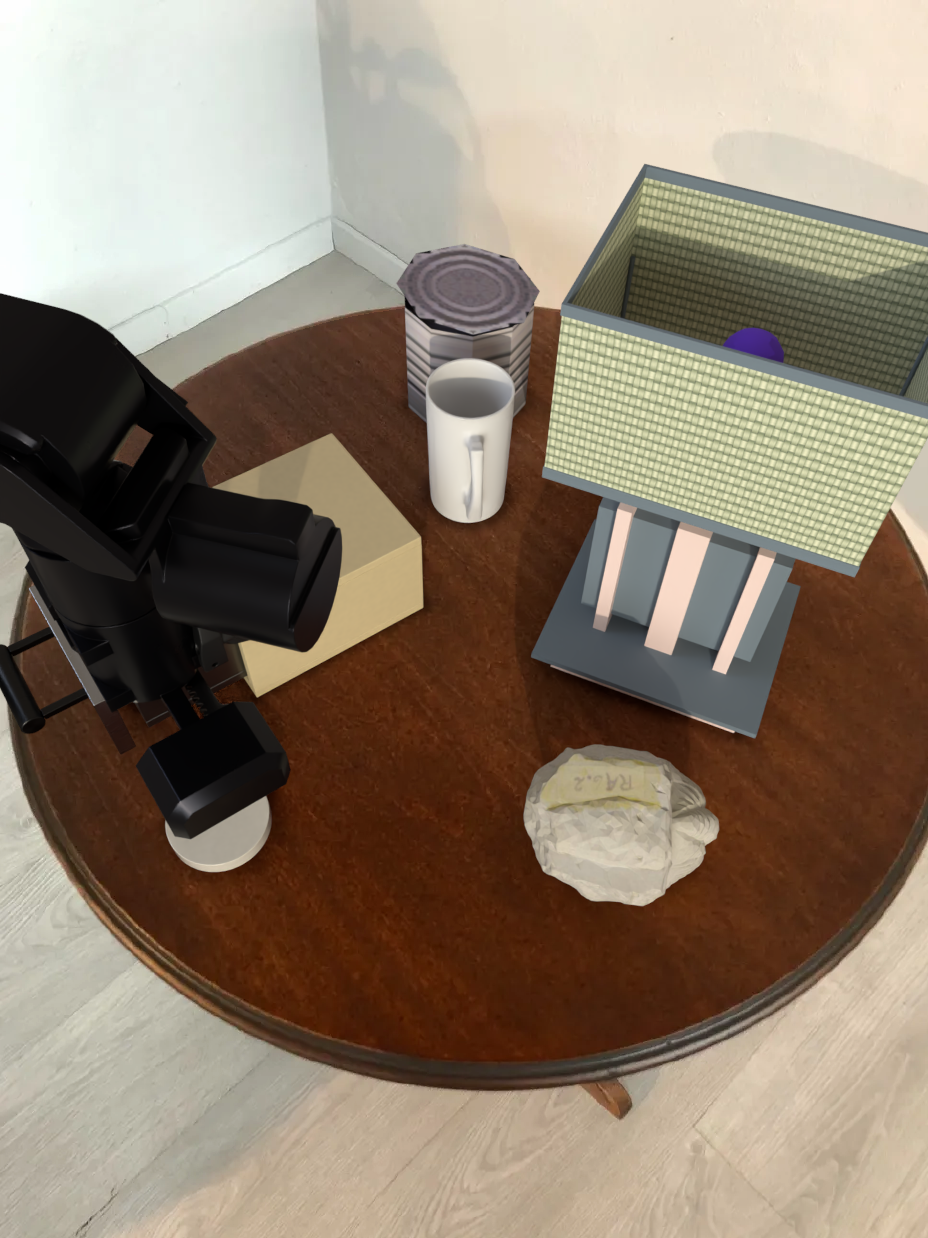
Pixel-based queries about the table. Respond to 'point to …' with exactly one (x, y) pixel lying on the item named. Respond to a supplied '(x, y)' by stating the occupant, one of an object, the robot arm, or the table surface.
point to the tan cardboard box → (371, 554)
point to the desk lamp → (727, 430)
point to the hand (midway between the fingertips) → (185, 741)
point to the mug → (469, 437)
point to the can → (466, 316)
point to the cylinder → (226, 840)
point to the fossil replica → (617, 823)
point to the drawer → (91, 685)
